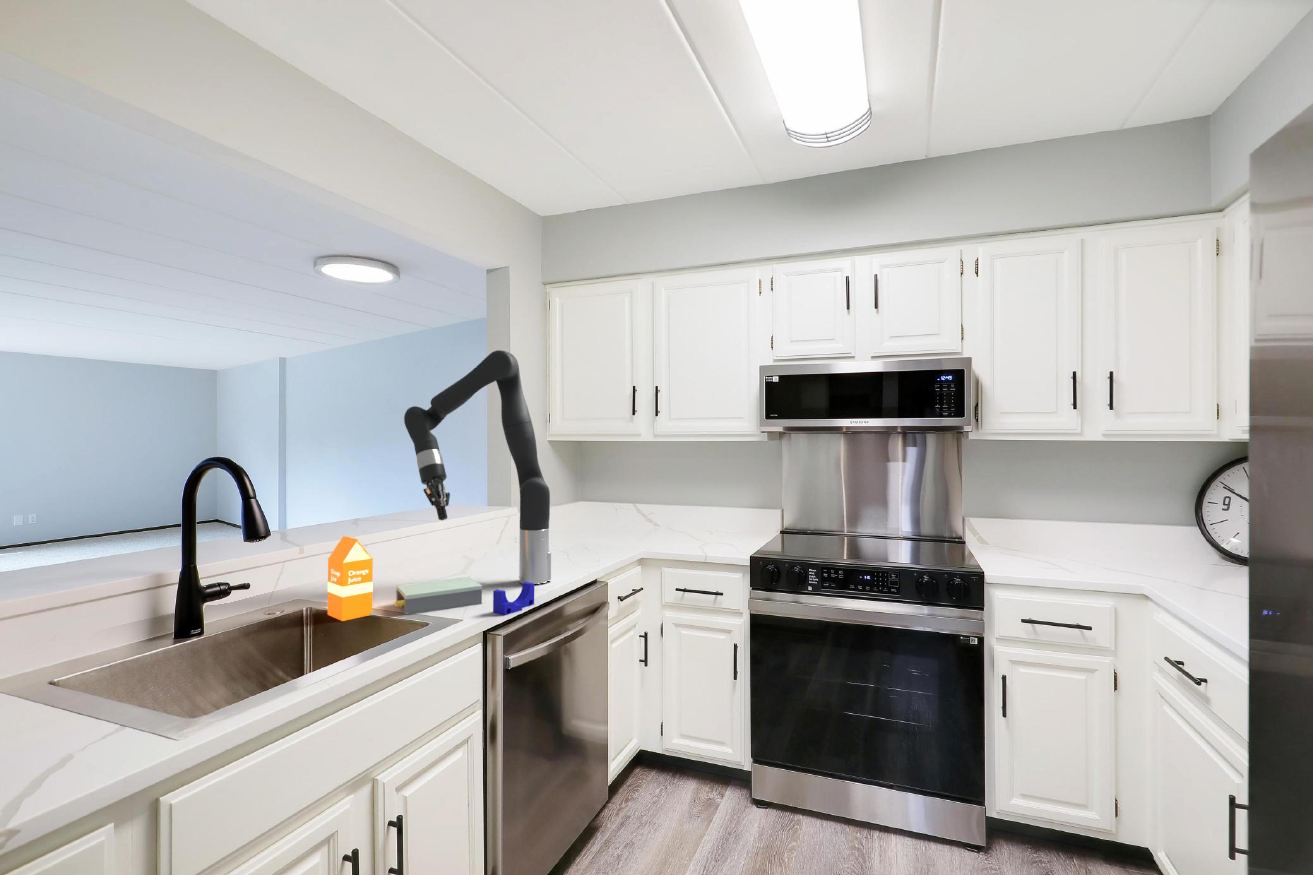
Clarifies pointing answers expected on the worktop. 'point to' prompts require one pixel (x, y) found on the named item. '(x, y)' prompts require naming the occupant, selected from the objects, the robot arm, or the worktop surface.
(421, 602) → the cable duct
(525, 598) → the blue u-shaped block
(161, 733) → the worktop surface
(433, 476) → the robot arm
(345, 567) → the orange juice
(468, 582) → the pale green flat panel
